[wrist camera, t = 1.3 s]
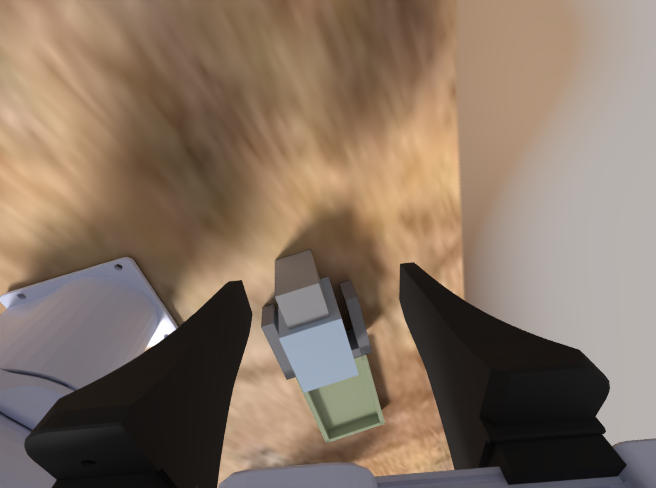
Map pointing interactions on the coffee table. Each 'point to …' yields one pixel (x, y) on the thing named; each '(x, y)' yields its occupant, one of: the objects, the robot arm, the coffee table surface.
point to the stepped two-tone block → (311, 324)
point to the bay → (354, 335)
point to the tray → (346, 404)
